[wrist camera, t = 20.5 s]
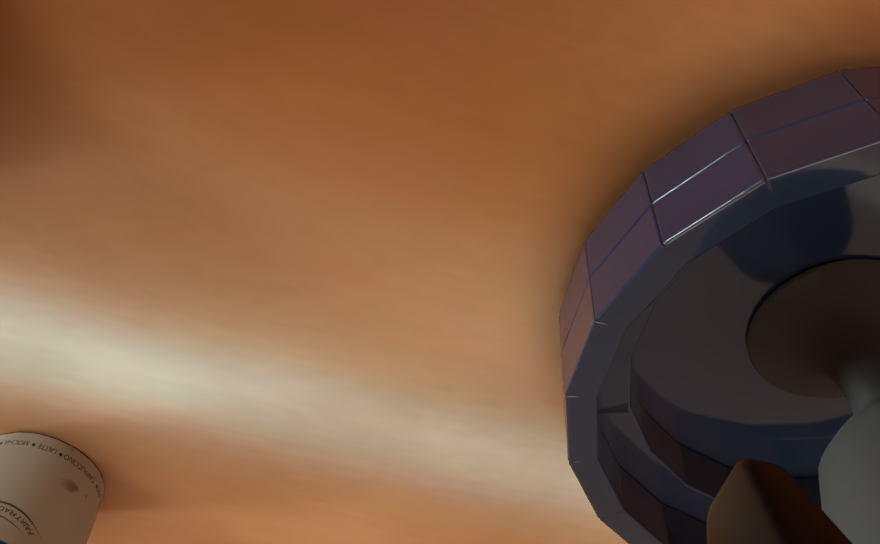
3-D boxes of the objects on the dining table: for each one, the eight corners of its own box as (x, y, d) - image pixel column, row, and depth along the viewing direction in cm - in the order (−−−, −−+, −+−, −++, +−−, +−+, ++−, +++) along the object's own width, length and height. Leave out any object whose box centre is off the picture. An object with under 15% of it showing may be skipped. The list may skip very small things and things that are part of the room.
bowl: (504, 445, 27) (503, 551, 24) (666, -15, 18) (701, 50, 15) (942, 529, 28) (1001, 644, 25) (1304, 127, 19) (1478, 220, 16)
